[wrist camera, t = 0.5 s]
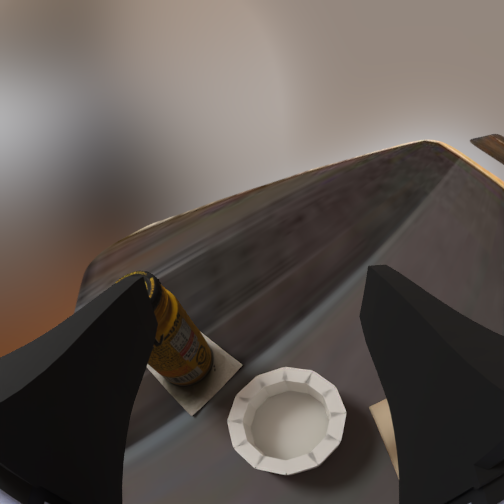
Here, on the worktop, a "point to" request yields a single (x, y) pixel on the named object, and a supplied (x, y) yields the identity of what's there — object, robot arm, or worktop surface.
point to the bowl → (287, 421)
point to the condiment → (184, 351)
